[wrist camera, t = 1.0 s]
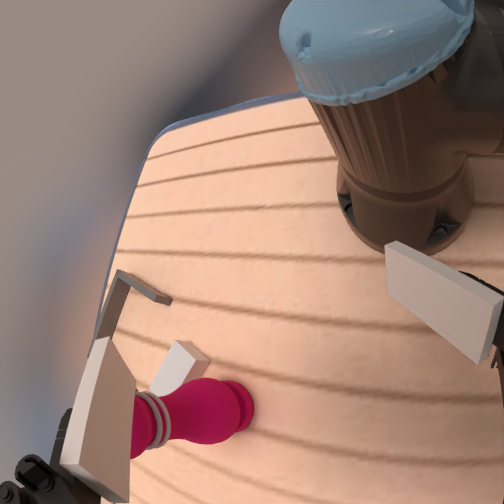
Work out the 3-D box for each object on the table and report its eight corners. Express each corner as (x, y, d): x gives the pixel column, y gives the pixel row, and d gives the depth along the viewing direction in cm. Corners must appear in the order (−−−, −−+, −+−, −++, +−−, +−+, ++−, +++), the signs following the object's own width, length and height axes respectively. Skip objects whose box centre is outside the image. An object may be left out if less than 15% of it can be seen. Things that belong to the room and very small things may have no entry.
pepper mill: (209, 370, 33) (50, 360, 17) (263, 384, 29) (97, 396, 13) (200, 424, 31) (47, 442, 15) (252, 443, 28) (95, 494, 11)
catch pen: (131, 274, 46) (117, 269, 43) (172, 299, 39) (156, 294, 37) (101, 358, 44) (87, 357, 41) (136, 395, 37) (120, 395, 35)
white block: (191, 341, 36) (175, 339, 34) (211, 360, 34) (195, 360, 31) (164, 388, 36) (148, 388, 33) (182, 407, 34) (166, 409, 31)
